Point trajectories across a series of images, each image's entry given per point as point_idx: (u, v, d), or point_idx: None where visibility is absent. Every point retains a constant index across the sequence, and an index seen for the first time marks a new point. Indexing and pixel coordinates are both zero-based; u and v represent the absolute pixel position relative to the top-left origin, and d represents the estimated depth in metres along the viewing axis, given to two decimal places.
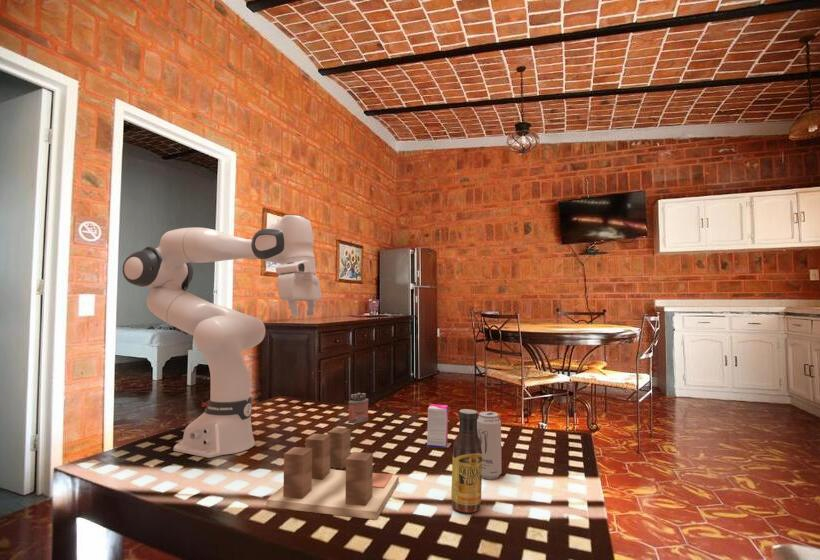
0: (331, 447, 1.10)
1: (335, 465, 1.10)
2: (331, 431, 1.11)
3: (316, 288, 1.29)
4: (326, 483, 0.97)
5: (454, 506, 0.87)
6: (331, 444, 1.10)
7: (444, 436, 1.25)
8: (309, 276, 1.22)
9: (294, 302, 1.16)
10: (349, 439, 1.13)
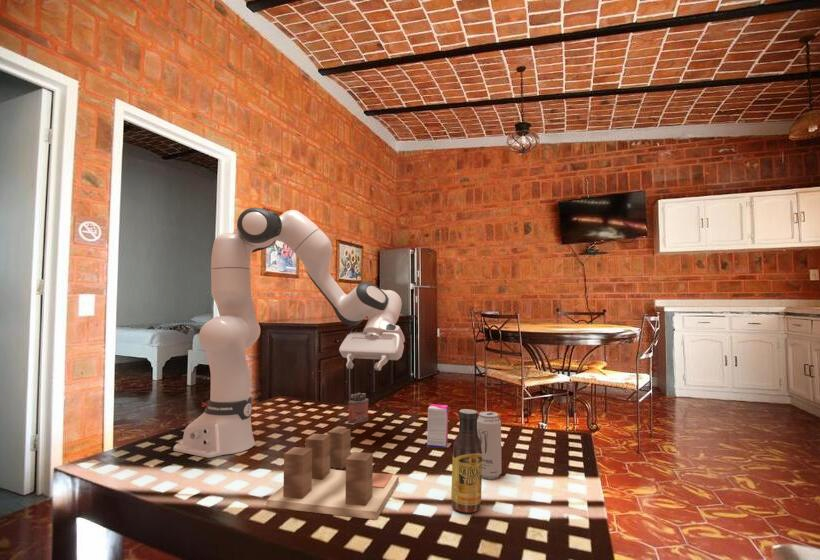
0: (331, 447, 1.10)
1: (335, 465, 1.10)
2: (331, 431, 1.11)
3: None
4: (326, 483, 0.97)
5: (454, 506, 0.87)
6: (331, 444, 1.10)
7: (444, 436, 1.25)
8: None
9: (387, 360, 1.25)
10: (349, 439, 1.13)
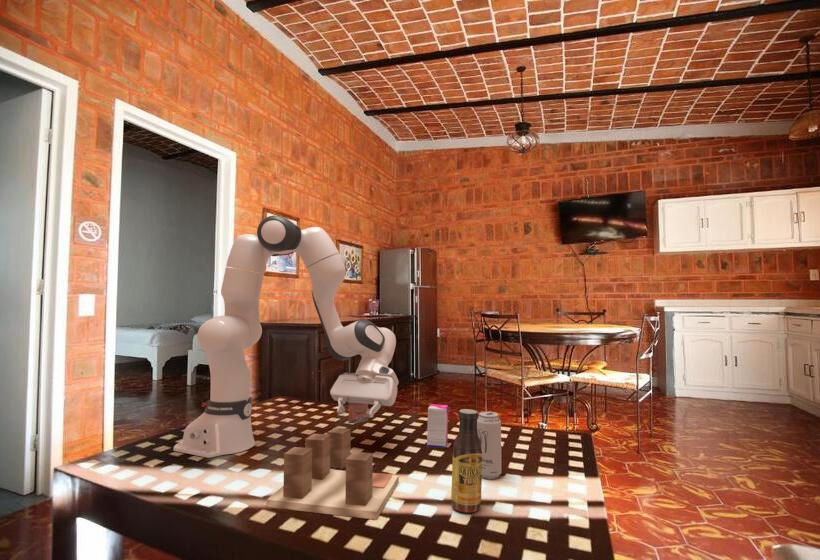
0: (331, 447, 1.10)
1: (335, 465, 1.10)
2: (331, 431, 1.11)
3: None
4: (326, 483, 0.97)
5: (454, 506, 0.87)
6: (331, 444, 1.10)
7: (444, 436, 1.25)
8: None
9: (380, 406, 1.20)
10: (349, 439, 1.13)
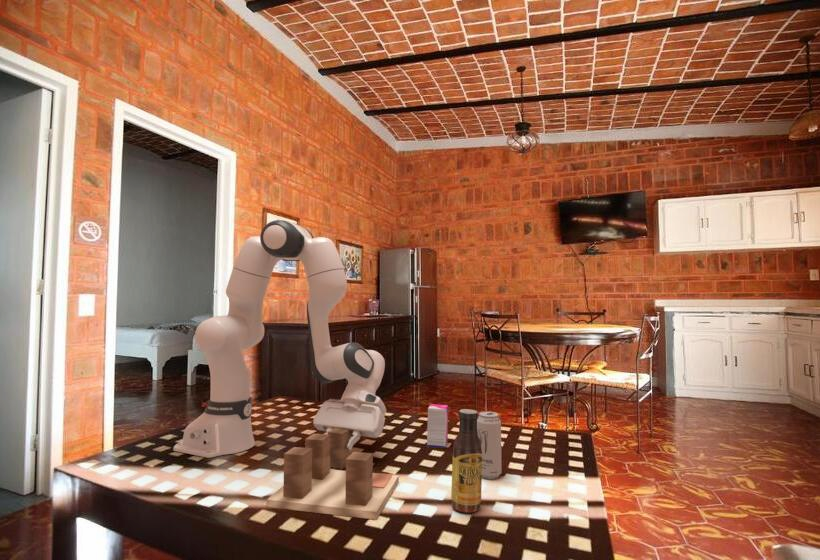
0: (331, 447, 1.10)
1: (335, 465, 1.09)
2: (331, 431, 1.11)
3: None
4: (326, 483, 0.97)
5: (454, 506, 0.87)
6: (331, 444, 1.10)
7: (444, 436, 1.25)
8: None
9: (359, 437, 1.13)
10: (349, 439, 1.13)
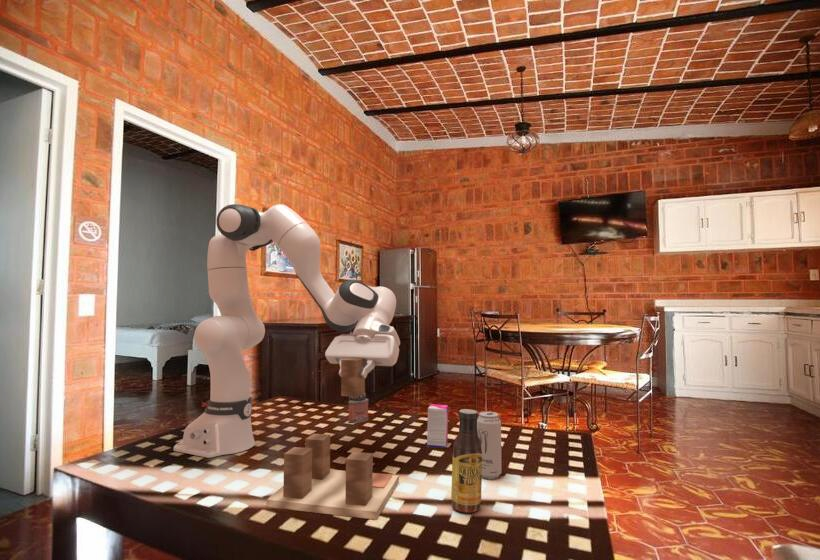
0: (345, 375, 1.07)
1: (350, 393, 1.06)
2: (345, 359, 1.08)
3: None
4: (326, 483, 0.97)
5: (454, 506, 0.87)
6: (345, 372, 1.07)
7: (444, 436, 1.25)
8: None
9: (374, 366, 1.09)
10: None
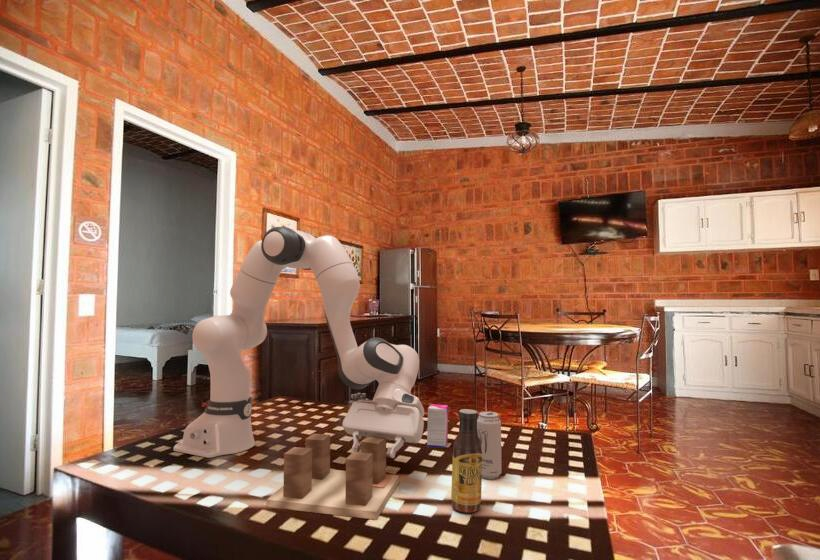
0: None
1: None
2: (365, 441, 0.98)
3: None
4: (326, 483, 0.97)
5: (454, 506, 0.87)
6: None
7: (444, 436, 1.25)
8: None
9: (402, 443, 0.99)
10: (385, 449, 0.99)
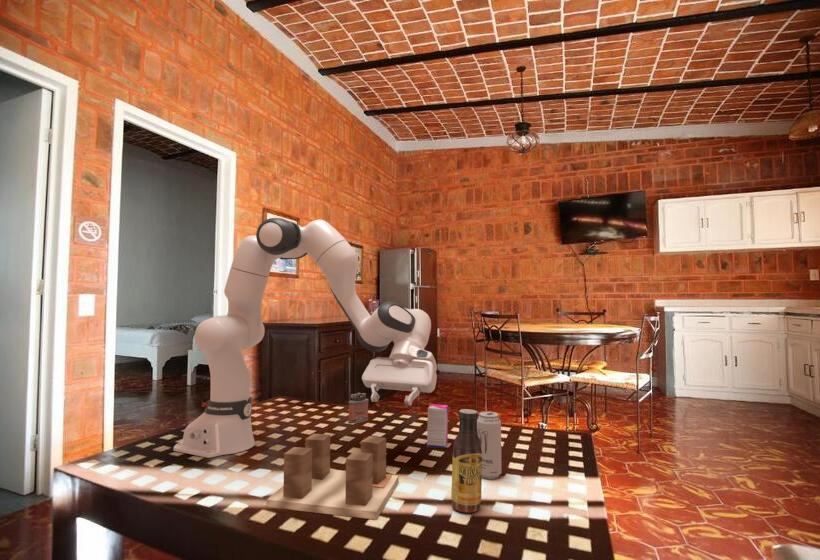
0: None
1: None
2: (365, 441, 0.98)
3: None
4: (326, 483, 0.97)
5: (454, 506, 0.87)
6: None
7: (444, 436, 1.25)
8: None
9: (418, 393, 1.08)
10: (385, 449, 0.99)
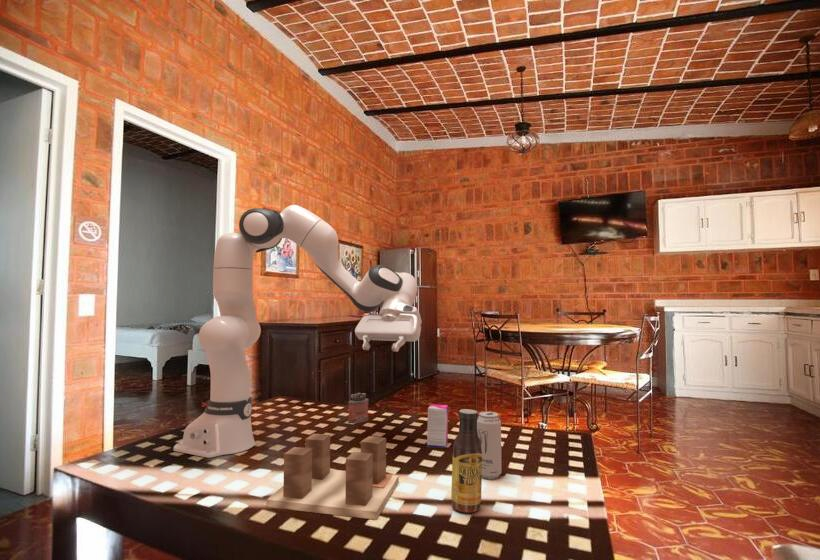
0: None
1: None
2: (365, 441, 0.98)
3: None
4: (326, 483, 0.97)
5: (454, 506, 0.87)
6: None
7: (444, 436, 1.25)
8: None
9: (404, 341, 1.22)
10: (385, 449, 0.99)
